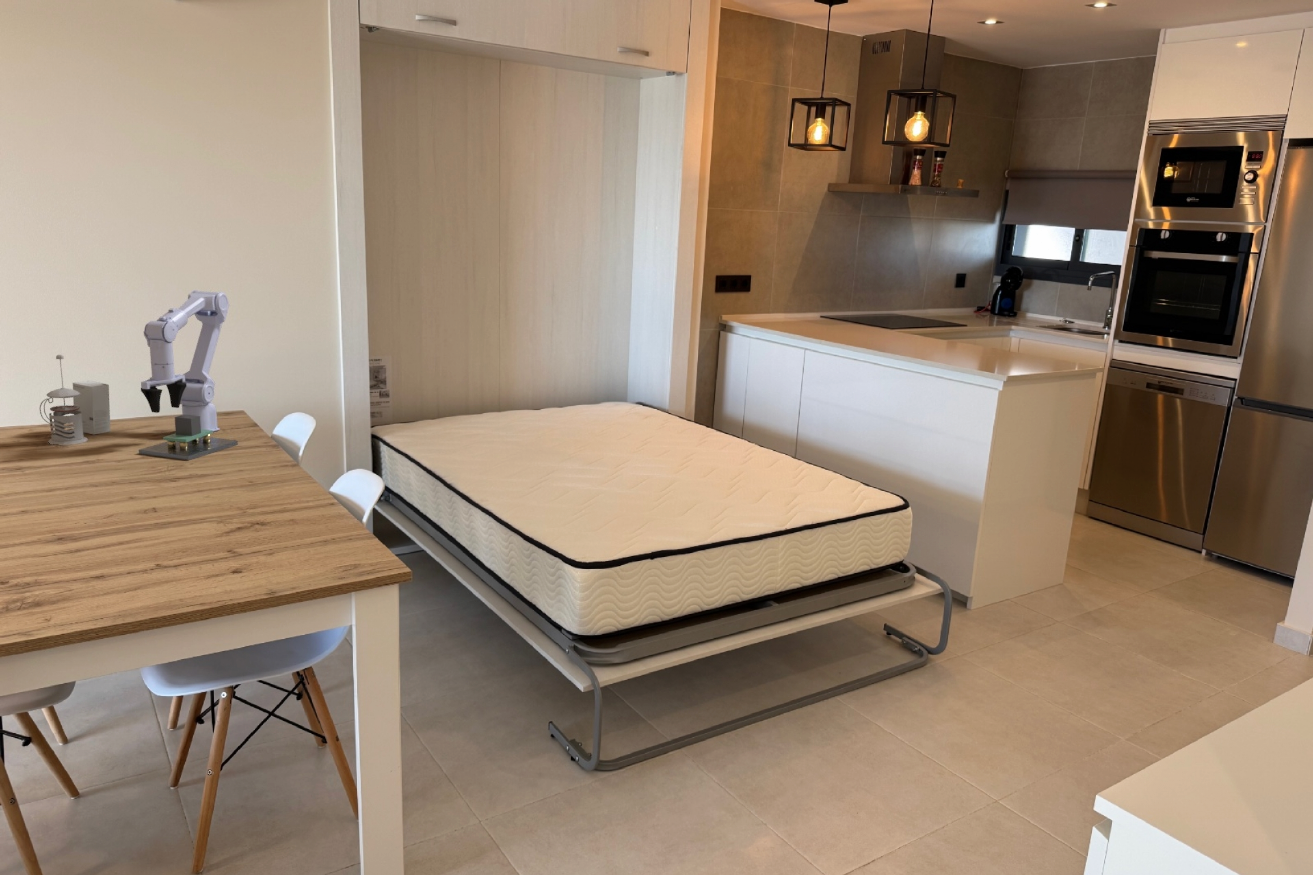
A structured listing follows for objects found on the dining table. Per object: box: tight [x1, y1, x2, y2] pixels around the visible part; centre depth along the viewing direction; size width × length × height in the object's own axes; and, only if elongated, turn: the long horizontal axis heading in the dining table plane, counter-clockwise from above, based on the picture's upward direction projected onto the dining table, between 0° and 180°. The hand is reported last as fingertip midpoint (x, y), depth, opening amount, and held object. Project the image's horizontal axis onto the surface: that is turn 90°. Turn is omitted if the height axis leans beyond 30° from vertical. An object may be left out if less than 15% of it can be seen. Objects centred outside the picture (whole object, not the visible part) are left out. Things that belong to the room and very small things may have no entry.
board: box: [162, 414, 214, 442], centre depth 256 cm, size 12×7×6 cm, turn 171°
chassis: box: [138, 434, 239, 461], centre depth 257 cm, size 20×16×4 cm
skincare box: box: [72, 380, 111, 435], centre depth 268 cm, size 8×6×15 cm
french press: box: [39, 354, 89, 446], centre depth 255 cm, size 10×12×25 cm
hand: (165, 409), depth 260 cm, fingers open, 7 cm apart
